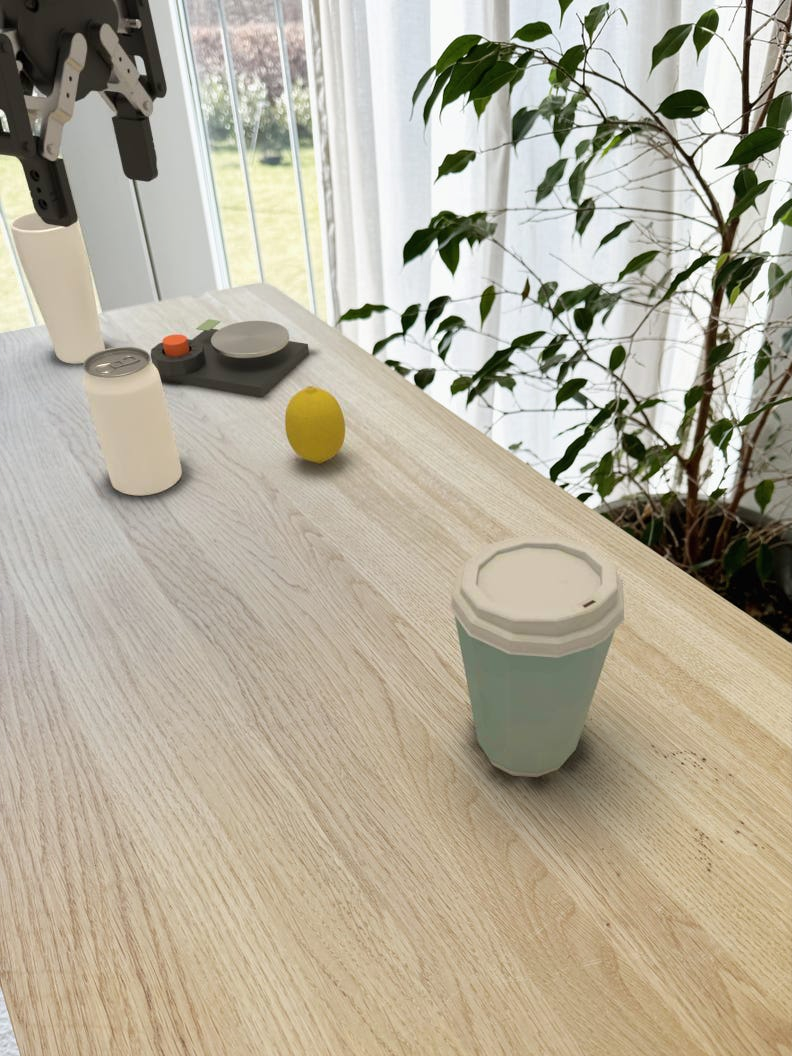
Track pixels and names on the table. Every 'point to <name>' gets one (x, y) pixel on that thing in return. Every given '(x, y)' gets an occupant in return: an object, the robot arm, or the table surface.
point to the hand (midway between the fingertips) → (103, 200)
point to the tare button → (175, 345)
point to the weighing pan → (247, 338)
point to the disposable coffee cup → (534, 645)
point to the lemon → (315, 425)
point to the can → (132, 420)
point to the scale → (227, 367)
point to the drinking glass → (60, 285)
